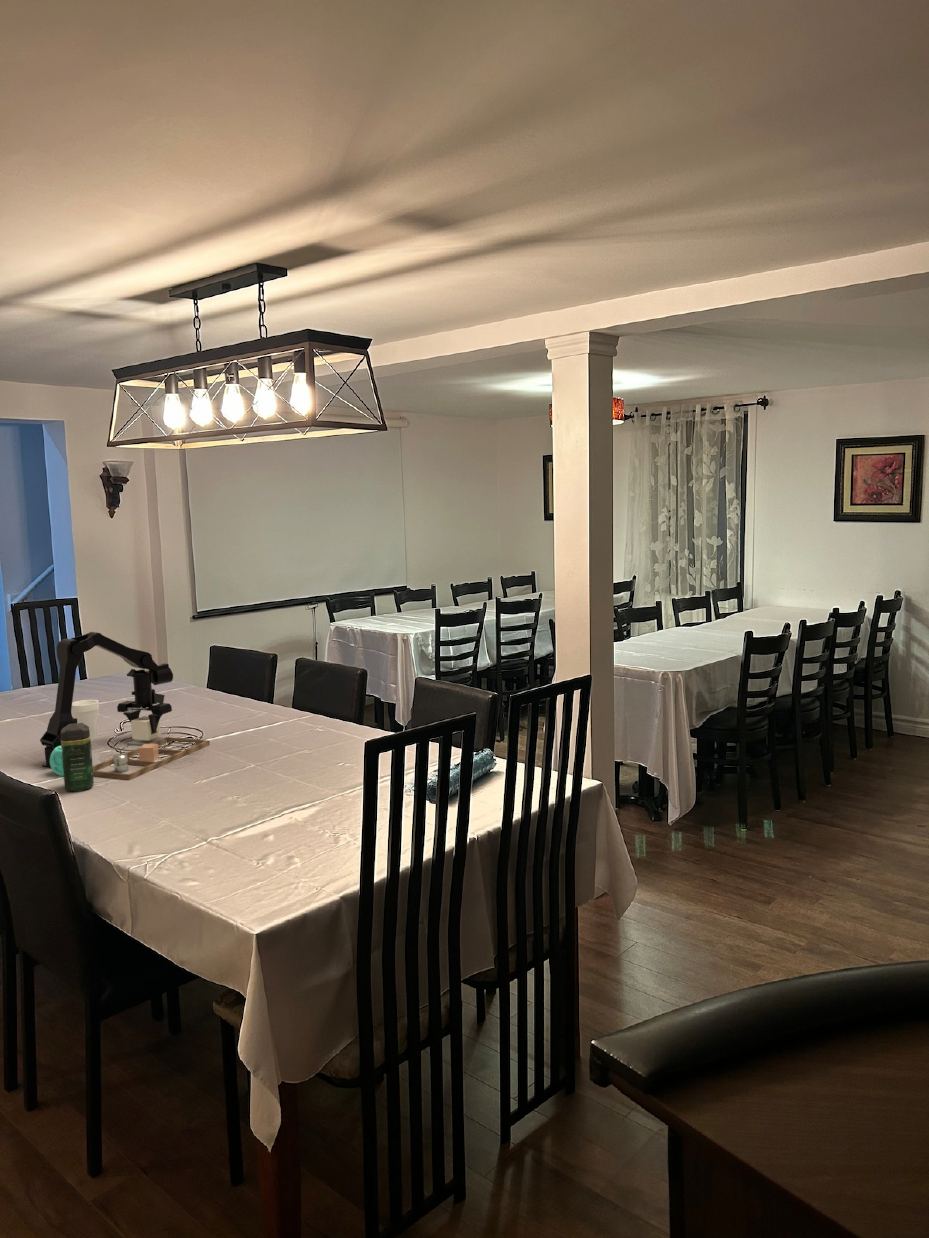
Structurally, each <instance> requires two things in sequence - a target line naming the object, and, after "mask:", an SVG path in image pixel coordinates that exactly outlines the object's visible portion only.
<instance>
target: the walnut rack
mask: <svg viewBox="0 0 929 1238" xmlns="http://www.w3.org/2000/svg"><path fill="white" fill-rule="evenodd" d="M171 741H178V742H195V743H196V744H194V745H193V746H191V747H188V748H187V749H185V750H184V749H183V750H181V749H178V750H177V749H168V748H167V749H166V748H158V752H159V753H164V754H163V755H167V754H172V755H169V756H168V757H166V758H163V759H161V760H157V761H142V760H140V759H131V757H133V756H136V755H138V754H137V753H139V748H140V747H138V748H136V749H132V750H131V751H127V752H125V754H127V757H128V766H137V767H138V766H139V767H142V768H140V769H138V770H137V769H136V770H135V771H133V772H131V773H115V772H113V771H111V772H110V771H99V770H102V769H104V768H106V767H109V766H111V765H114V758H113V757H112V758H110V759H107V760H105V761H103V762H100V763H97V764H94V765H93V777H95V778H96V777H98V778H106V779H118V780H126V781H130V780H132V779H135V778H138V777H139V776H142V775H145V774H146V773H149V772H151V771H153V770H155V769H158V768H160V767H164V765H167V764H170V763H171V762H172V763H173V762H174V761H176V760H178V759H181V758H183V757H185V756H188V755H189V754H191V753H194V752H197V751H198V750H201V749H203V748H206V747H208V746H210V744H211V743H210V740H206V739H194V738H182V737H171V736H165V737H163V739H160V740H158V741H155V742H153V743H150V744H158V745H159V746H161V745H163V744H162V743H164V744H166V743H172V742H171ZM160 744H161V745H160ZM129 758H130V759H129Z"/></svg>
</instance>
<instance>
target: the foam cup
mask: <svg viewBox="0 0 929 1238" xmlns="http://www.w3.org/2000/svg"><path fill="white" fill-rule="evenodd" d="M99 701H100V700H98V699H82V700H77V701H72V709H71V714H72V717H73V718H77V723H83V724H85V725H87V726H89V730H90V740H91V741H94V740H97V739H98V733H99V732H98V731H99V728H98V727H99V713H100V711H99V710H100V702H99Z"/></svg>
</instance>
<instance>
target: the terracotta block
mask: <svg viewBox="0 0 929 1238" xmlns="http://www.w3.org/2000/svg"><path fill="white" fill-rule="evenodd" d="M138 748H139V754H138V756H139V760H142V761H153V762H156V760H158V757H159V758H160V754H159V752H158V749H159V746H158V744H144V745H142V746H139V747H138Z"/></svg>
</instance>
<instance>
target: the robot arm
mask: <svg viewBox="0 0 929 1238" xmlns="http://www.w3.org/2000/svg"><path fill="white" fill-rule="evenodd" d="M95 647H98V648H99V649H102V650H104V651H106V652H108V653H111V654H113V655H115V656H117V657H120V658H121V659H122V660H123V661H124V662H126V664H128V665H129V666H131V667H133V668H131V669H130V671H128V672H127V674H126V676H127V677H131V678H132V680H133V691H131V695H132V696H134V700H126V701H122V702H119V703H118V705H117V706H116V710H117V713H122V714H123V715H124V716H125V717H126V718H127V719H128V722H130V723H131V720H134V719H137V718H140V714H141V712H142V711H146V712H148V711H149V712H151V714H148V716H149V721H150V725H151V729H152V732H153V733H155V732H156V730H157V726H158V723H159V721H160V720H161V717H162V716H163V715H165V714H167V713H171V712H172V711H173V708H172V705H171V703H168V702H167V703H165V694H160V693H156V689H154V688H152V685H154V686H158V685H163V684H168V683H172V681H173V679H174V673H173V671H172V669H171V668H170V665H169V663H166V662H165V663H161V664H157V663H156V662H155V660H153V655H152V654H151V653H150V652H147V651H143V650H140V649H135V648H131V647H128V646H126V645H124V644H122V643H120V642H118V641H116V640H113V639H111V638H109V637H107V636H105V635H103V634H102V633H101V632H97V631H89V632H88V633H87V632H86V633H85V634H82V635H78V636H74V637H71V638H63V639H61V640H60V641H58V643H57V646H56V659H57V660H58V664H59V673H58V674H59V675H58V683H57V693H56V700H55V708H54V712H53V713H52V715H51V716H50V718H49V720H48V724H47V727H46V730H45V732H44V734H43V735H42V736H41V738H40V739H39V742H40V744H41V745H42V746H45V747H44V757H45V763H43V764H42V765H41V766H42V767H44V768H51V766H50V756H51V753H52V751H53V750H54V749H55V748H56V747H58V746H61V735H60V733H61V730H62V729H63V728H64V727H66V726H67V725H68V724H74V723H77V718H73V717H72V713H71V709H72V702H74V701H73V699H74V694H75V693H74V692H75V682H76V674H77V668H78V667H79V664H80V663H81V661H82V659H83V657H84V653H86V652H87V651H90V650H92V649H93V648H95ZM134 668H138V669H139V670H136V669H134Z"/></svg>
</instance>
